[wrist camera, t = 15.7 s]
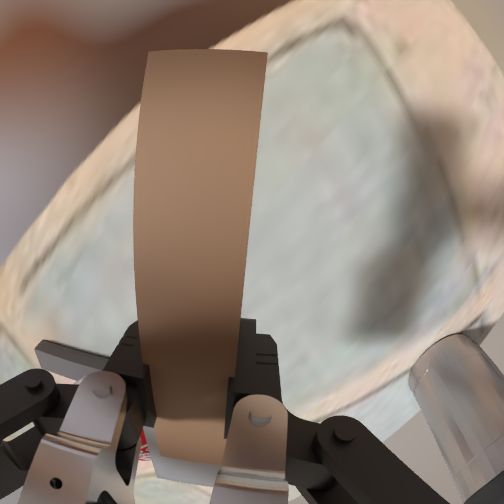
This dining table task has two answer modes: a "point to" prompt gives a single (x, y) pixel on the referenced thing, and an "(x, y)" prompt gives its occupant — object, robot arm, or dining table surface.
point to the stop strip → (68, 360)
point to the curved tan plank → (193, 244)
